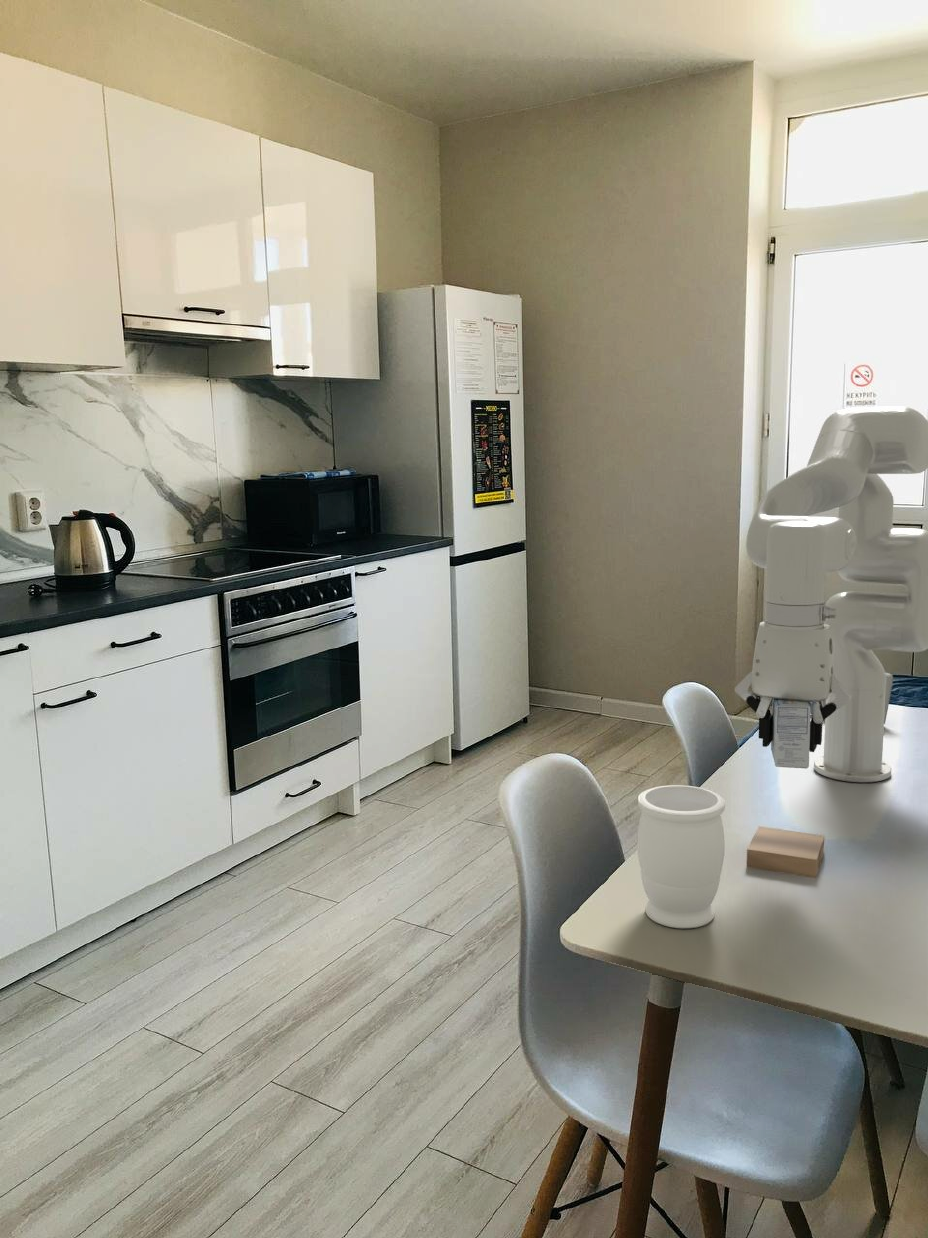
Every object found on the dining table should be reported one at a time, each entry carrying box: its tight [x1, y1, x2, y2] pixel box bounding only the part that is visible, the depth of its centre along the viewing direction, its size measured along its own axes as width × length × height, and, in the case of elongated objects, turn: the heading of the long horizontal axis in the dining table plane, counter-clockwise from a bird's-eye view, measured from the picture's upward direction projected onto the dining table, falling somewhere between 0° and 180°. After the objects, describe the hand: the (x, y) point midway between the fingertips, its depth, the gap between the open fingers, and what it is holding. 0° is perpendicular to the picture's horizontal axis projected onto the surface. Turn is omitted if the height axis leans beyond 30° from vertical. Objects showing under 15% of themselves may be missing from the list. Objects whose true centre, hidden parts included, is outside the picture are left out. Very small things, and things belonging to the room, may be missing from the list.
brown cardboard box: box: [746, 825, 826, 879], centre depth 139 cm, size 9×9×3 cm
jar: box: [637, 784, 726, 929], centre depth 123 cm, size 11×10×15 cm
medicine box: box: [770, 698, 812, 769], centre depth 136 cm, size 8×4×9 cm, turn 167°
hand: (789, 745), depth 137 cm, fingers closed on medicine box, 5 cm apart
